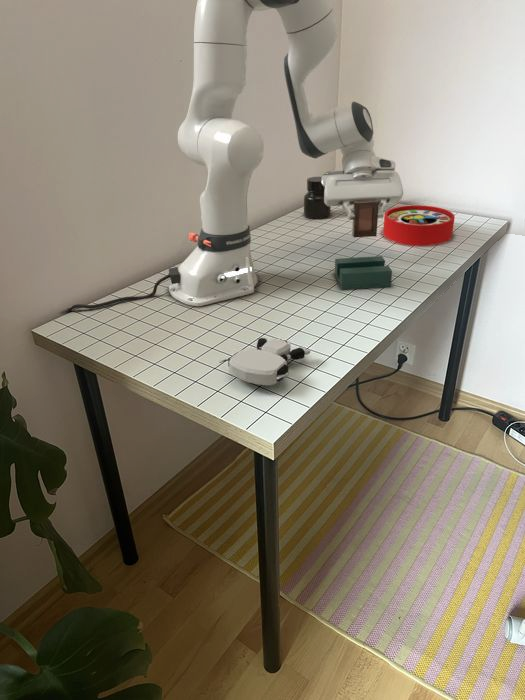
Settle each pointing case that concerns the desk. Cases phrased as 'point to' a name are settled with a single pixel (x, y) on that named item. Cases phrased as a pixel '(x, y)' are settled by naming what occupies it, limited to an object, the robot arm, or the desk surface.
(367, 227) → the frame
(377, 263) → the holder
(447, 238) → the toy clock
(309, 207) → the ink bottle
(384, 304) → the desk surface
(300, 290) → the desk surface
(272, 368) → the robot toy
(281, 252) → the desk surface
